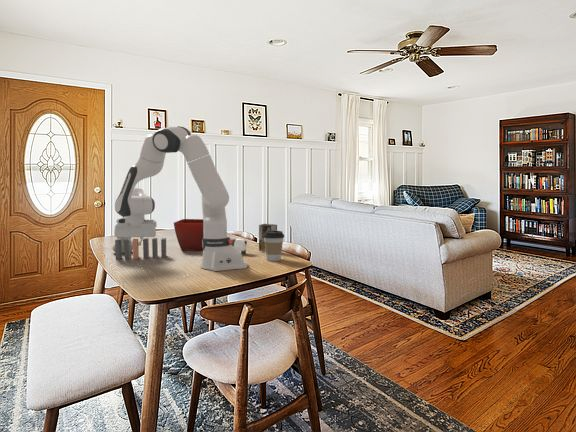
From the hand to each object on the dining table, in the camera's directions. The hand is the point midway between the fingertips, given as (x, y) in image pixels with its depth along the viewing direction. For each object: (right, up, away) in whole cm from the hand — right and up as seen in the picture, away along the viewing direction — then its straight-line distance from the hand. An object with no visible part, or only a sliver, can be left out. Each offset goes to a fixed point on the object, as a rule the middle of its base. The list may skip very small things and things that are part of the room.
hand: (135, 245), depth 190 cm
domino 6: (+14, -7, +4) cm, 15 cm away
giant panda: (+51, -6, +15) cm, 53 cm away
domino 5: (+9, -7, +3) cm, 12 cm away
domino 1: (-8, -7, -1) cm, 11 cm away
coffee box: (+69, -6, +21) cm, 72 cm away
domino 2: (-4, -7, 0) cm, 8 cm away
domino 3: (0, -7, +1) cm, 7 cm away
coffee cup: (+73, -8, 0) cm, 73 cm away
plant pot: (+24, -4, +28) cm, 37 cm away
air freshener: (-12, -5, +13) cm, 19 cm away
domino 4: (+5, -7, +2) cm, 8 cm away
